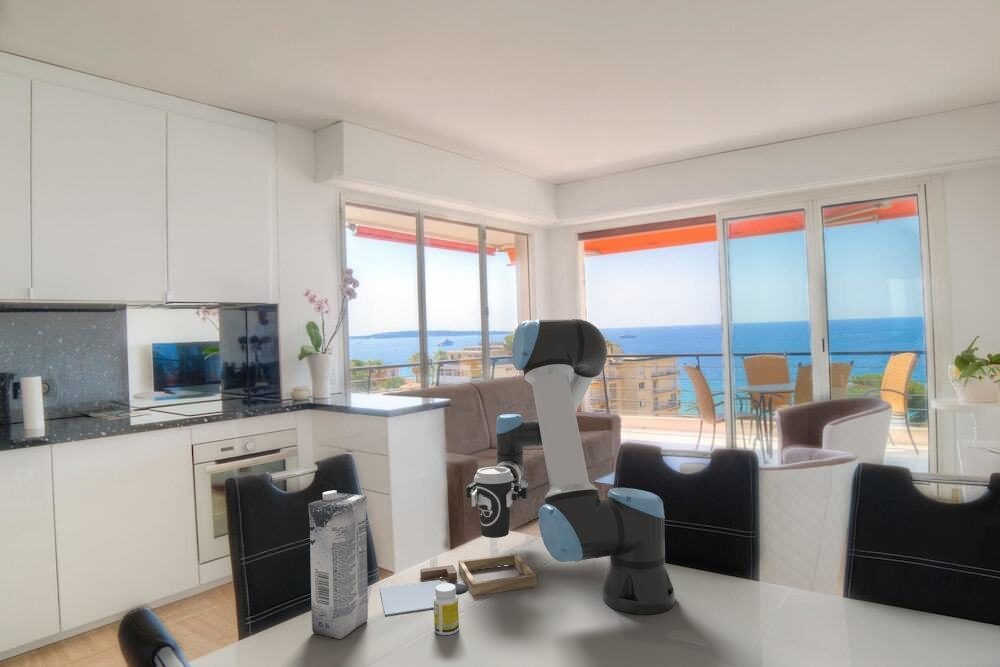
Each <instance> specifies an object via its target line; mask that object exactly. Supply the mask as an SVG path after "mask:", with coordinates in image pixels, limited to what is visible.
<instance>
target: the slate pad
mask: <svg viewBox="0 0 1000 667" xmlns="http://www.w3.org/2000/svg"><path fill="white" fill-rule="evenodd" d="M440 584H443V583H442V581H441V579H436V580H435V579H434V580H429V581H428V580H426V581H423V582H422V581H421V582H414V583H408V584H407V583H406V584H400V585H399V584H398V585H392V586H391V585H390V586H384V587H379V592H380V596H381V601H382V602H381V603H382V606H383V611H384V616H385V617H387V616H394V615H400V614H401V615H402V614H407V613H413V612H422V611H428V610H434V598H435V596H436V594H435V588H436V586H438V585H440Z"/></svg>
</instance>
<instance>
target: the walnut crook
mask: <svg viewBox="0 0 1000 667" xmlns="http://www.w3.org/2000/svg"><path fill="white" fill-rule="evenodd" d="M419 574H420V580H421V581H428V580H429V579H430V580H435V578H437V579H441V578H440V577H445V578H446V579H447V581H448V582H449V581H453V582H457V581H458V572H457V569H456V568H455V566H454V565H453V564H451V565H450V564H449V565H443V566H442V565H441V566H433V567H425V568H420V573H419ZM430 580H429V581H430ZM456 580H457V581H456Z"/></svg>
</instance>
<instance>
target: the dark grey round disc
mask: <svg viewBox="0 0 1000 667" xmlns="http://www.w3.org/2000/svg"><path fill="white" fill-rule="evenodd" d="M454 585H455V587H456V595H460V594H463V593H466V592H467V591H469V588H468V586H467V585H466V584H460V583H458V584H457V583H455V584H454Z"/></svg>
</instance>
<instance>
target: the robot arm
mask: <svg viewBox="0 0 1000 667" xmlns="http://www.w3.org/2000/svg"><path fill="white" fill-rule="evenodd" d="M511 351H512V352H511V357H512V358H511V359H512V364H513V367H514V369H515V370H516V371H517V370H518V371H520V372H523V376H524V381H525V382H528V383H529V384H530V385H531V386H532V390H533V392H532V393H533V397H534V403H535V408H536V413H537V414H536V416H537V419H530V420H529V419H527V420H526V419H525V420H523V416H522V415H521V414H518V413H510V414H509V413H505V414H500V415H498V416H497V417H496V422H495V423H496V424H495V436H496V437H495V438H496V466H495V467H505V468H509V469H510V471H511V473H512V474H513V477H514V480H512V487H511V491H509V492H508V493H507V495H506V499H507V507H510V508H511V506H512V504H513V502H514V501H517V500H518V499H519V498H520V497H521V499H524V500H525V499H527V494H528V493H527V491H528V489H529V485H528V484H529V480H528V478H523V477H524V474H525V472H526V464H525V462H524V448H529V447H542V450H543V456H544V461H545V466H546V472H547V479H548V485H549V490H548V491H547V493H546V494H545V496H544V502H545V504H544V505H542V506H541V507H540V508H539V510H538V527H539V528H538V529H539V533H540V536H541V540H542V542H543V544H544V546H545V548H546V551H547V552H548V553H549V555H550V557H552V558H553V559H554V560H556V561H558V562H560V563H566V562H575V563H576V562H580V561H586V560H592V559H598V558H599V559H600V558H607V557H609V564H608V568H607V571H606V574H605V576H604V577H605V578H604V580H603V585H602V599H603V601H604V603H605V604H607V605H608V606H610V607H611V608H612V609H615V610H618V611H621V612H624V613H628V614H633V615H634V614H635V615H655V614H660V613H664V612H667V611H669V610H670V609H672V608H673V606H674V605H675V603H676V602H675V589H674V586H673V583H672V581H671V577H670V575H669V572H668V569H667V566H666V549H665V548H666V547H665V546H666V545H665V540H666V539H665V519H666V516H665V510H664V502H663V500H662V499H661V498H660V496H658V495H657V494H655V493H653V492H650V491H646V490H643V489H642V490H641V489H637V488H630V487H629V488H627V487H613V488H611V489H610V488H609V490H608V491H607V492H608V493H607V498H600V497H601V496H600V494H599V488H597V487H596V486H595V485H593V484H592V483H591V482H590V479H589V474H588V469H587V464H586V459H585V458H586V457H585V455H584V454H585V453H584V450H583V444H582V438H581V434H580V433H581V432H580V430H579V429H580V428H579V424H578V420H577V418H578V417H577V414H576V413H577V410H578V408H579V407H580V404H581V403H582V401H583V399H584V397H585V395H586V393H587V392H588V389H589V388H590V386H591V383H592V381H593V379H594V378H596V377H599V375H600V374H602V371H603V369H604V368H605V365H606V362H607V359H608V358H607V357H608V348H607V342H606V339H605V337H604V335H603V333H602V332H601V331H600V329H599V328H598V327H597V326H596V325H594V324H593V323H591V322H589V321H587V320H583V319H578V318H572V319H539V318H537V319H533V320H524V321H522V322H520V323H519V325H518V326H517V327H516V329H515V332H514V336H513V340H512V348H511ZM522 478H523V479H522ZM465 493H466V494H465V496H466V498H469V499H470V500H471V507H476V506H477V505H478V494H477V487H476V482H475V481H474V480H473V482H471V483H470V484H468V485H467V486H466V487H465ZM671 607H672V608H671ZM668 609H669V610H668ZM666 610H667V611H666Z"/></svg>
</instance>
